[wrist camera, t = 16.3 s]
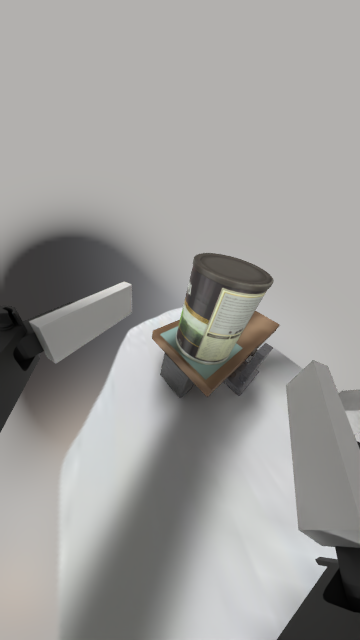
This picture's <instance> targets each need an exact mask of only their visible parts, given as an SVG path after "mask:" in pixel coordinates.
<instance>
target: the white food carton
mask: <svg viewBox="0 0 360 640" xmlns="http://www.w3.org/2000/svg"><path fill="white" fill-rule="evenodd" d="M338 394H339V397H340V399H341V402H342V404H343V407H344V410H345V412H346V415H347V417H348V420H349V423H350V425H351V428H352V430H353V433H354V435H355V434H357V433H360V390H348V391H341V392H340V393H338Z"/></svg>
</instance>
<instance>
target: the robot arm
mask: <svg viewBox="0 0 360 640" xmlns="http://www.w3.org/2000/svg"><path fill="white" fill-rule="evenodd" d="M131 313H132V285H131V284H128V283H126V282H122V283H120V284H117V285H115V286H113V287H111V288H108V289H106V290H103V291H101V292H98V293H96V294H94V295H91V296H89V297H86V298H84V299H82V300H79V301H76V302H71V303H67V304H65V305H63V306H61V307H57V308H55V309H54V310H50V311H48V312H45V313H43V314H40V315H38V316H35V317H33V318H30V319H28V320H25V321H22V320H21V318H20V316H19V314H18V312H17V311H16V309H15V308H14V307H12V306H0V432H1V430H2V428H3V426H4V425H5V423H6V421H7V419H8V417H9V415H10V413H11V411H12V410H13V408H14V406H15V404H16V402H17V400H18V398H19V396H20V394H21V393H22V391H23V389H24V387H25V385H26V383H27V381H28V380H29V378H30V376H31V374H32V372H33V370H34V368H35V366H36V365H37V362H38V361H39V359H40V353H41V352H43V351H44V352H45V354H46V356H47V358H49V359H50V360H51V361H53V362H54V363H57V362H59V361H60V360H62V359H64V358H65V357H66V356H68V355H69V354H71V353H72V352H74V351H75V350H77V349H78V348H80V347H82V346H83V345H85V344H86V343H88V342H89V341H91V340H92V339H94V338H95V337H96V336H98V335H100V334H101V333H102V332H104V331H106V330H107V329H109V328H110V327H112V326H113V325H115V324H116V323H118V322H119V321H120V320H122V319H124V318H125V317H127V316H128V315H130V314H131ZM286 391H287V402H288V414H289V425H290V437H291V448H292V460H293V471H294V483H295V494H296V506H297V517H298V529H299V530H300V531H301V532H303V533H304V534H306V535H307V536H308V537H310V538H311V539H313V540H314V541H316V542H317V543H319V544H320V545H322V546H331V547H335V548H336V553H337V558H338V559H331V558H324V557H319V558H317V559H315V560H316V562H317V563H318V565H322V566H328V567H327V568H326V570H325V571H324V572H323V574H322V575H321V577H320V578H319V580H318V581H317V583H316V584H315V586H314V587H313V588H312V590H311V591H310V593H309V594H308V596H307V597H306V598H305V600H304V601H303V603H302V604H301V606H300V607H299V608H298V610H297V611H296V613H295V614H294V616H293V617H292V619H291V620H290V621H289V623H288V624H287V626H286V627H285V629H284V630H283V631H282V633H281V634H280V636H279V637H278V639H277V640H360V443H359V442H357V441H356V438H355V436H354V433H353V430H352V428H351V425H350V423H349V420H348V417H347V415H346V412H345V410H344V407H343V404H342V402H341V399H340V397H339V394H338V391H337V389H336V386H335V384H334V381H333V378H332V376H331V373H330V371H329V368H328V366H326V365H323V364H321V363H318V362H316V361H314V360H313V361H312V362H311V363H310V364H309V365H308V366H307V367H306V368H304V369H303V370H302V371H301V372H300V373H299V374H298V375H297V376H296V377H295V378H294V379H293V380H292V381H291V382H290V383H289V384H287V385H286Z"/></svg>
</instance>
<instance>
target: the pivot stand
mask: <svg viewBox="0 0 360 640" xmlns="http://www.w3.org/2000/svg"><path fill="white" fill-rule="evenodd" d="M272 349H273V348H272V347H271V346H269V345H268V344H266V343H265V344H264V345H263V346H262V347H261V348H260V349H259V350H258V351H257V352H256V354H255V355H254V356H253V358H252V359H251V361H250V362H249V363H247V362H246V361H244V362H243V363H242V364H241V365H240V366H239V367H238V368H237V369H236V370H235V371H234V372H233V373H232V374H231V375H230V376H228V377H227V378H226V379H225V380H224V381H223V382H224V383H226V384H227V385H228V386H229V387H230V388H231V389H232V390H233V391H234V392H235V393H236V394H237V395H238V396H240V394H241V393H242V392H243V391H244V390H245V388H246V387H247V386H248V385H249V384H250V382H251V381H252V380H253V379H254V378H255V376H256V375H257V374H258V373H259V371H257V370H256V369H257V367H258V366H259V365H260V364H261V362H262V361H263V360H264V359H265V357H266V356H267V355H268V354H269V352H270V351H271V350H272ZM160 375H161V376H162V377H163V378H164V380H165V381H166V382H167V383H168V384H169V386H170V387H171V388H172V389H173V391H174V392H175V393H176V394H177V395H178V397H179V398H181V397H182V396H183V395H184V394H186V393H187V392H188V391H189V390H190V389H191V388H192V386H193V381H192V380H191V379H190V378H189V377H188V376H187V375H186V374H185V373H184V372H183V371H182V370H181V369H180V368H179V367H178V366H177V365H176V363H175V362H174V361H173V360H172V359H171V358H170V357H169V356H168V355H167V354H166V353H165V354H164V359H163V364H162V369H161V374H160Z"/></svg>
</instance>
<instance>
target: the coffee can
mask: <svg viewBox="0 0 360 640" xmlns="http://www.w3.org/2000/svg"><path fill="white" fill-rule="evenodd" d="M272 284H273V278H272V277H271V276H270V275H269V274H268V273H267V272H266V271H264V270H263V269H261V268H259V267H257V266H255V265H253V264H251V263H249V262H246V261H243V260H241V259H238V258H234V257H231V256H226V255H221V254H213V253H203V254H198V255H196V256H195V257H194V261H193V269H192V272H191V277H190V281H189V285H188V289H187V293H186V298H185V302H184V306H183V310H182V314H181V318H180V322H179V326H178V330H177V333H176V343H177V346H178V348H179V349H180V350H181V352H182V353H183V354H184V355H185V356H187V357H188V358H189V359H191V360H193V361H195V362H197V363H201V364H205V365H216V364H220V363H222V362H224V361H225V360H226V359H227V358H228V357H229V355H230V353H231V351H232V349H233V347H234V346H235V344H236V342H237V341H238V339H239V337H240V335H241V334H242V332H243V330H244V329H245V327H246V325H247V324H248V322H249V320H250V318H251V317H252V315H253V313H254V312H255V310H256V308H257V307H258V305H259V303H260V301H261V300H262V298H263V296H264V294H265V293H266V291H267V289H269V288H270V287H271V285H272Z"/></svg>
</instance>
